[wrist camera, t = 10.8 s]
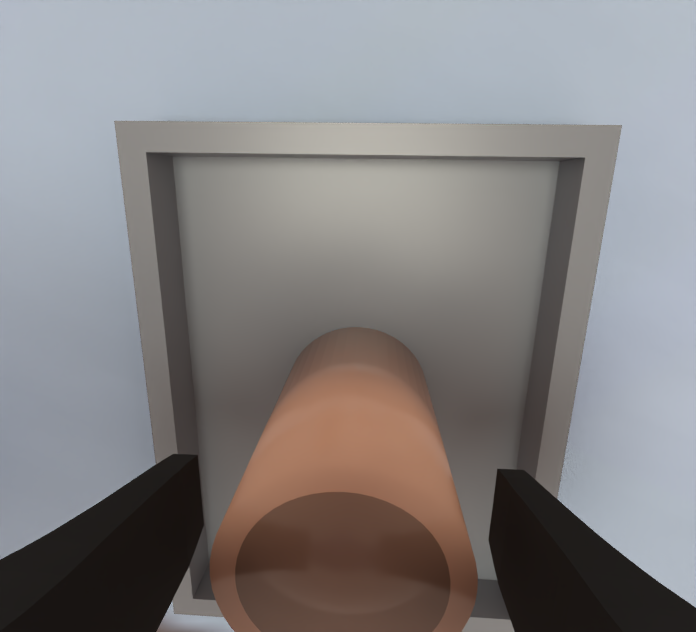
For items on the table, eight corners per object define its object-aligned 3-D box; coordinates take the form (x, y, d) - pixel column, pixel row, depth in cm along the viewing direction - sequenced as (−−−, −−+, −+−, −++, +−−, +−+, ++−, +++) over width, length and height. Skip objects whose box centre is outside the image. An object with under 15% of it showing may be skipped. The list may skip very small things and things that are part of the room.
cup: (289, 451, 17) (217, 676, 9) (286, 324, 15) (198, 462, 8) (422, 457, 17) (466, 692, 9) (431, 329, 15) (492, 475, 7)
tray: (199, 561, 20) (174, 613, 17) (156, 131, 15) (114, 120, 12) (512, 580, 19) (532, 637, 16) (579, 135, 14) (621, 125, 12)
